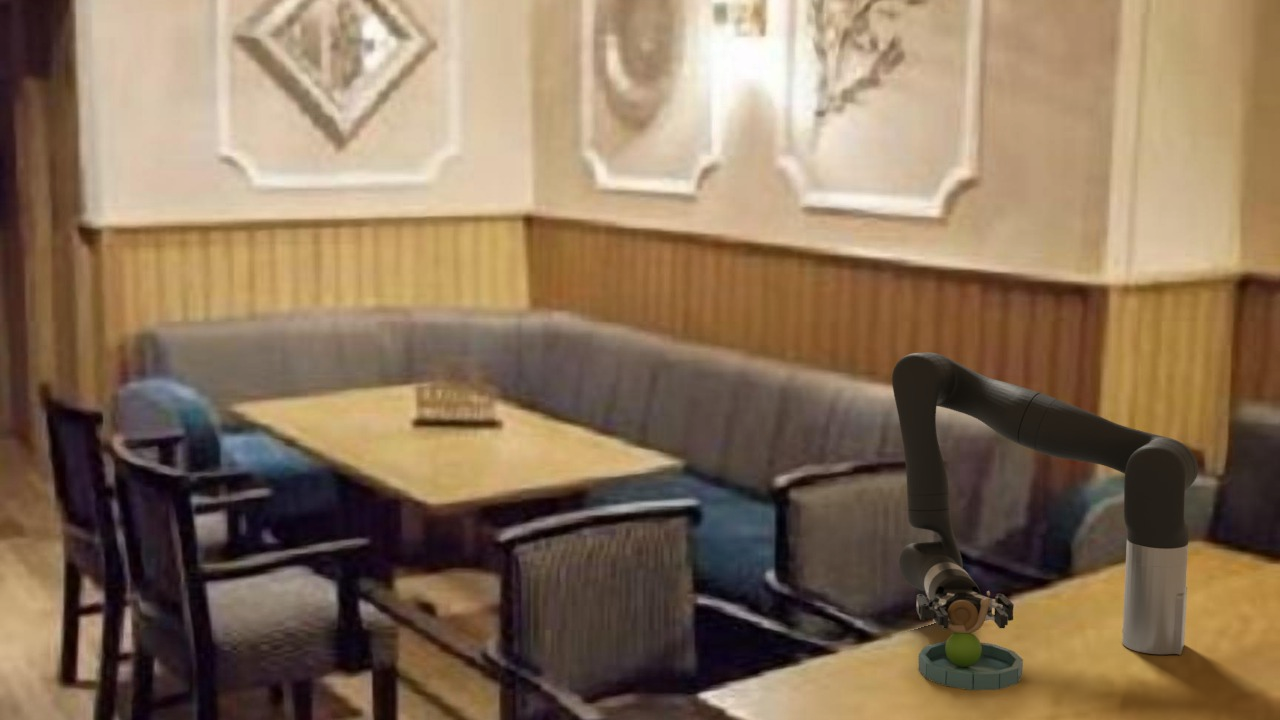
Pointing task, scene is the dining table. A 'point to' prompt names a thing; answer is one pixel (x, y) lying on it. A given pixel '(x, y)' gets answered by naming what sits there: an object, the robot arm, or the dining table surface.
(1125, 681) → the dining table surface
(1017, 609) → the dining table surface
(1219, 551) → the dining table surface
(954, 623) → the snail figurine
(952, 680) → the dish
